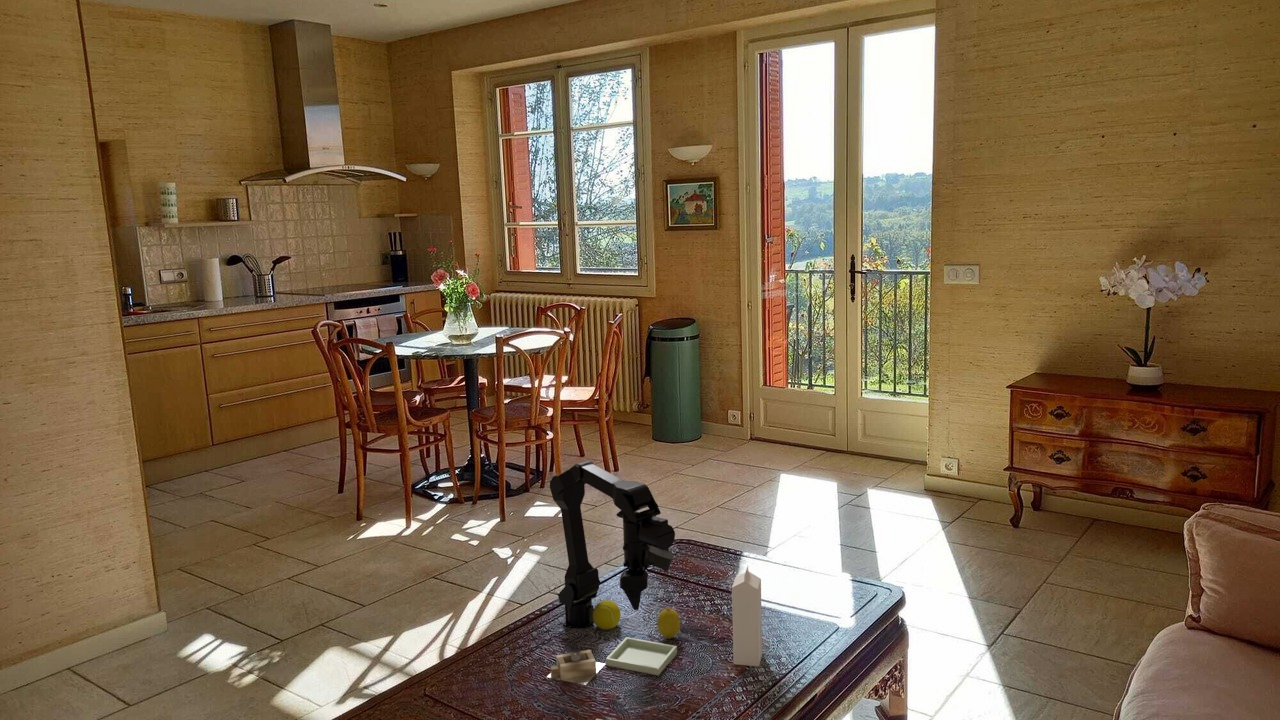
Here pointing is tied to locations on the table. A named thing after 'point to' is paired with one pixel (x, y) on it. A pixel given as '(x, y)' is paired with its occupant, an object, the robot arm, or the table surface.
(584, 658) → the wooden rectangular frame
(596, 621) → the tennis ball
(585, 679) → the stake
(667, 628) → the lemon
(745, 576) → the milk
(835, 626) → the table surface
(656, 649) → the tray
